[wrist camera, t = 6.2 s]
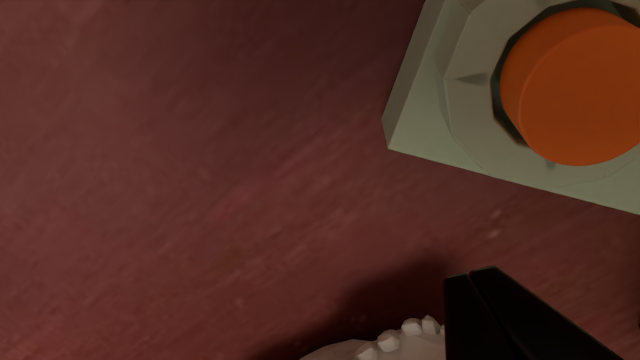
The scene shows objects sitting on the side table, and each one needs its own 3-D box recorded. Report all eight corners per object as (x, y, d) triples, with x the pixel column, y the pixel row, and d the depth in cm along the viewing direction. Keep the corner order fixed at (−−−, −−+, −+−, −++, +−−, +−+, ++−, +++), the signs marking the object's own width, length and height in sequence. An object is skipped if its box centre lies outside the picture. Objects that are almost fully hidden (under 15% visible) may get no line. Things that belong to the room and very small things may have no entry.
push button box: (781, -31, 17) (900, -1, 13) (635, 187, 21) (697, 254, 17) (474, -136, 15) (518, -132, 12) (380, 119, 19) (392, 176, 16)
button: (666, 29, 14) (707, 50, 13) (593, 150, 16) (621, 182, 14) (537, -12, 14) (563, 5, 12) (476, 118, 15) (493, 147, 14)
